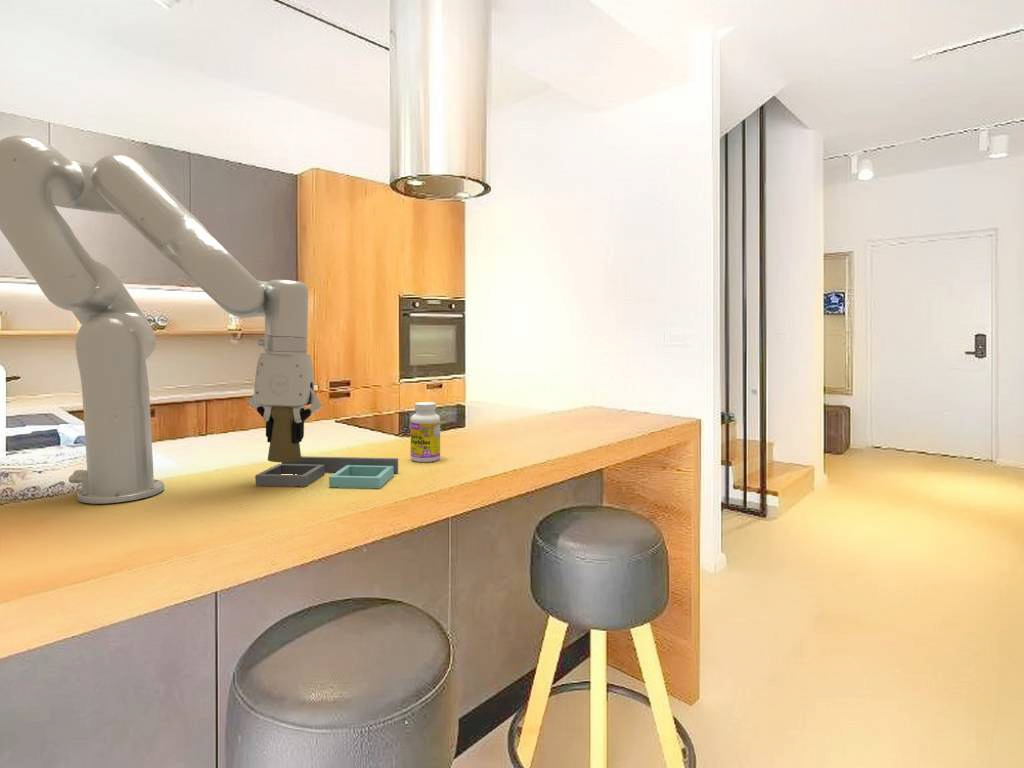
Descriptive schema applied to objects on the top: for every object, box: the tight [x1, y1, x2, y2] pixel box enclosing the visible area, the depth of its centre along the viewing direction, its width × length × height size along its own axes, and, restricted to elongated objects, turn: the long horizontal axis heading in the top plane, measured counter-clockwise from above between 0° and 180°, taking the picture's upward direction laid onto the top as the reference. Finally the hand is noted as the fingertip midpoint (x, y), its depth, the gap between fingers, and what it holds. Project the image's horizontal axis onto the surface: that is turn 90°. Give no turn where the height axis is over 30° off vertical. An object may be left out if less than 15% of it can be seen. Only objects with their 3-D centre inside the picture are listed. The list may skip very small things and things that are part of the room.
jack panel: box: [254, 455, 399, 489], centre depth 112 cm, size 24×12×3 cm, turn 87°
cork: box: [267, 406, 302, 463], centre depth 110 cm, size 6×6×11 cm
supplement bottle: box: [409, 401, 441, 463], centre depth 130 cm, size 7×7×13 cm
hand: (284, 441), depth 110 cm, fingers closed on cork, 4 cm apart
